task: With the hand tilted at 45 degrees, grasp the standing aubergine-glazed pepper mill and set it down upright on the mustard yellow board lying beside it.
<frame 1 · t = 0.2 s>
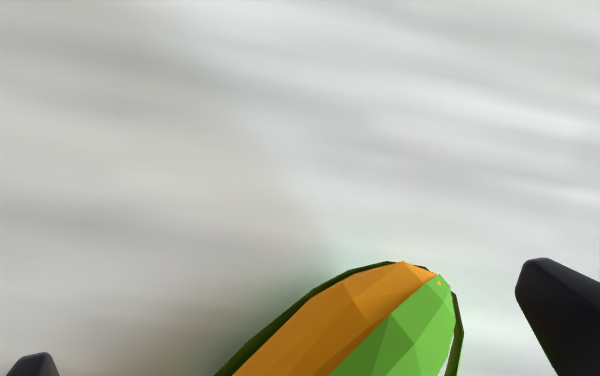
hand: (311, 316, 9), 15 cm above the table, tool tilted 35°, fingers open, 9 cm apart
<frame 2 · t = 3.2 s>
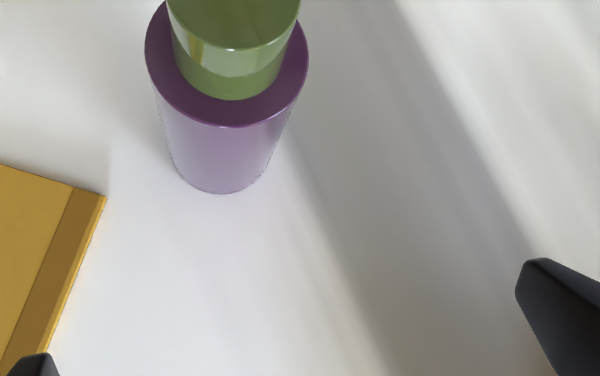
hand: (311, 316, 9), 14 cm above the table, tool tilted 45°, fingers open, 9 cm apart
pepper mill: (220, 145, 23), on the table
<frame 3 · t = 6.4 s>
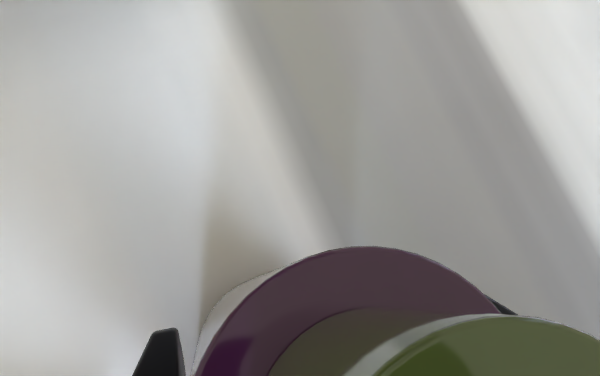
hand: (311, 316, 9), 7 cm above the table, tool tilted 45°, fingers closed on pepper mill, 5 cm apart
pepper mill: (275, 353, 15), on the table, touching gripper
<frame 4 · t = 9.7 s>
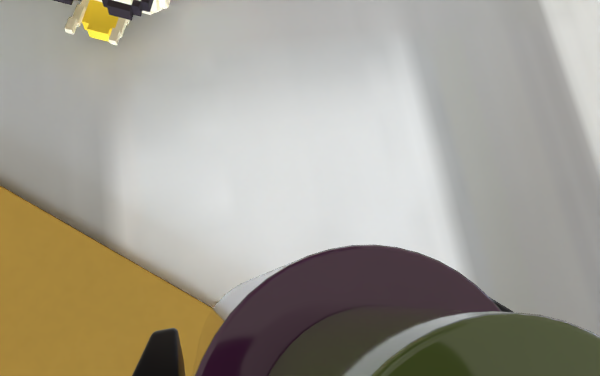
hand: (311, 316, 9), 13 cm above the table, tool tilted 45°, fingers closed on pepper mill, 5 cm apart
pepper mill: (275, 353, 15), point 6 cm above the table, touching gripper
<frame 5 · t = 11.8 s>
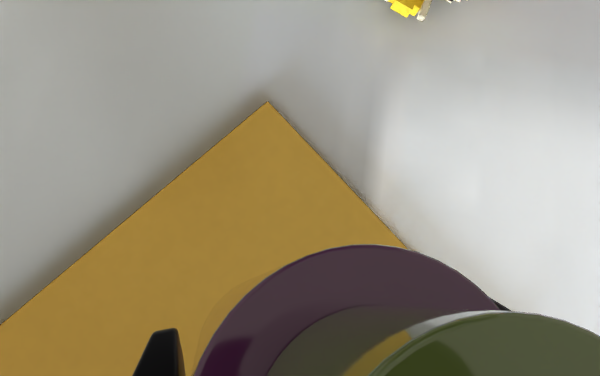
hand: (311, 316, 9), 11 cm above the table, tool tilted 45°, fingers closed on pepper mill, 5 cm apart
pepper mill: (275, 352, 15), point 4 cm above the table, touching gripper
when the fingers open (7 cm above the table, at t = 13.4 s): pepper mill stays where it is, resting on mustard yellow board.
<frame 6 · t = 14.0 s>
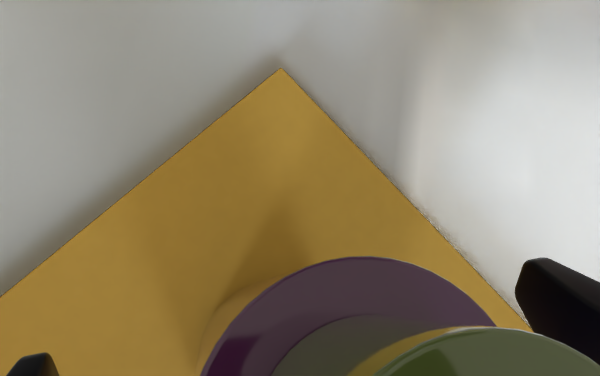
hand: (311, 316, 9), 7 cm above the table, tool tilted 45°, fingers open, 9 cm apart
pepper mill: (275, 356, 15), resting on mustard yellow board
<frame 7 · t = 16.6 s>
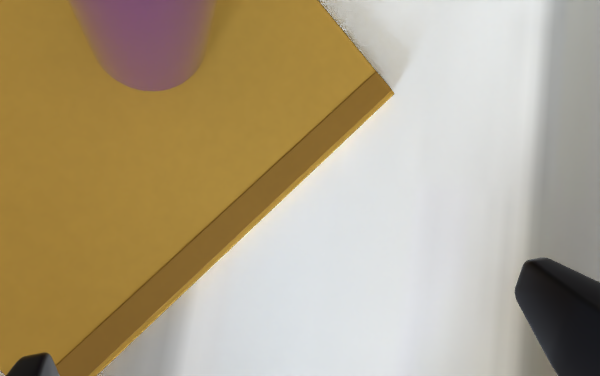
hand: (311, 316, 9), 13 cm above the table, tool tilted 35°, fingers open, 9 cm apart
pepper mill: (149, 35, 20), resting on mustard yellow board
mustard yellow board: (110, 98, 20), on the table
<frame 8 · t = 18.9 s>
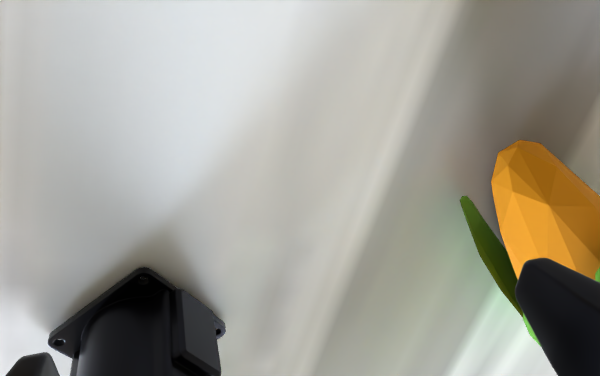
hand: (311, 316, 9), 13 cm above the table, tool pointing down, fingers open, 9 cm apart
corn: (522, 228, 30), on the table
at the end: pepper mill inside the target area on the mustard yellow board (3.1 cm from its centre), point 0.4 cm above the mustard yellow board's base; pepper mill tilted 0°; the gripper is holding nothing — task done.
